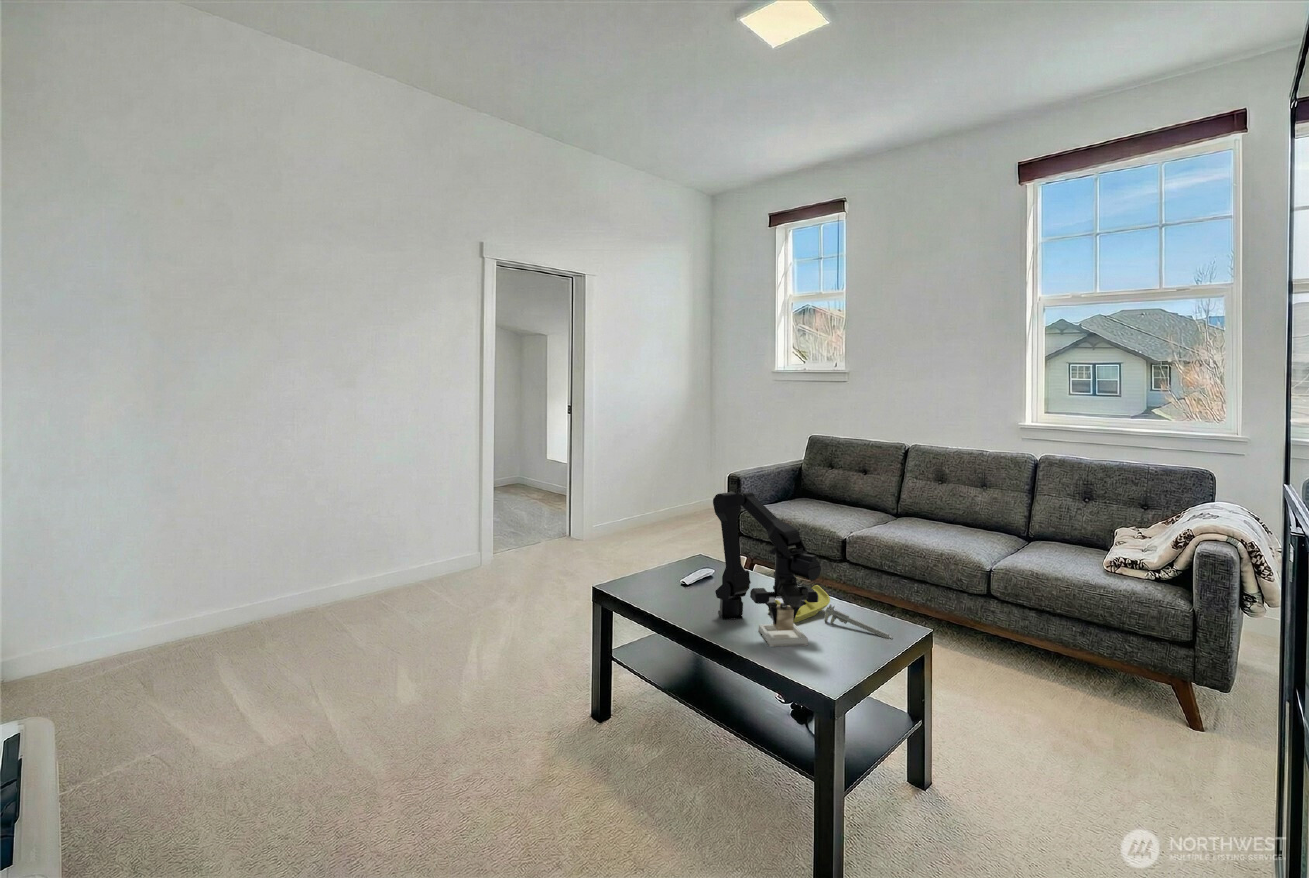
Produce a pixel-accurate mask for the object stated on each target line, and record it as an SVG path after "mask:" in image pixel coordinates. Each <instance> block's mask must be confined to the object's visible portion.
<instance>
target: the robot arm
mask: <svg viewBox="0 0 1309 878" xmlns="http://www.w3.org/2000/svg"><path fill="white" fill-rule="evenodd" d="M712 505H713V510H714V513H715V515H716V516H717V518H718V520H719V521H720V524H721V525H720V526H721V534H722V535H721V536H722V542H723V543H722V544H723V552H724V561H725V568H724V571H723V572H722V573H723V574H722V578H721V580H722V581H721V582H722V584H721V585H720V586H719V587H718V588H716V589H715V596H716V598H717V599H719V610H717V612H718V614H719V617H721V619H722V620H743V614H744V602H743V601H742V597H745V596H746V595H747V592H748V591H749V589H750V584H751V583H752V582H751V579H750V571H749V570H746V569H745V568H744V566H743V565H742V559H741V549H740V540H739V532H738V522H737V520H738V516H739V514H740V512H741V507H742V508H743V509H745V511H747V513H748V514H749V515H750V516H751V517H752V518H753V519H754V520H755V521H756V522H757V523H758V524H759V525H760V526H761V527H763V529H764V530H765V531H766V533H767V536H768V540H769V541H770V542H771V543H772V545H773V546H774V547H773V548H772V549H771V550H770V551H769V554H771V555H774V556H775V561H774V562H775V564H774V571H773V576H774V585H772V586H773V587H772V590H773V591H767V590H766V589H765V588H764V587H753V588H752V589H751V590H750V592H749V593H750V594H749V596H750V599H751V600H752V601H753V602H754V604H759V605H760V604H761V605H763V604H764V605H765V606H767V609H769V611H770V612H769V611H768V612H769V613H770V616H771V619H772V624H773V623H774V624H776V620H777V618H776V607H777V604H776V603H775V600H777V599H781V600H782V603H784V604H785V605H790V606H791V608H792V609H793V610H794V618H795V616H796V614H797V612H798V610H799V608H800V607H801V606H803V605H806V602H805V601H804V600H806V601H807V602H808V603H809V602H818V593H817V592H816V591H814V590H813V589H812V587H811V586H806V585H804V586H803V585H802V586H799V585H798V581H797V577H799V578H803V579H806V580H809V581H816V580H817V579H819V577H820V574H821V571H822V567H821V563H820V562H819V560H818V557H817V555H815V554H809V553H808V550H807V549H806V546H805V544H804V542H803V540H802V539H801V533H800V532H799V531H798V529H797V528H796V527H794V526H792V525H790V524H789V523H788V522H784V521H782V520H780V519H778V517H776V515H774V513H772V512H771V510H769V509H768V508H767V506H765V504H763V503H762V502H761V501H760V500H759V499H758V498H757V497H756V495H755V493H753V492H751V491H744V492H743V491H742V492H739V493H736V492H734V491H729V492H728V491H727V492H722V493H720V492H719V493H717V494H715V496H714V497H713V499H712ZM794 618H793V621H794Z"/></svg>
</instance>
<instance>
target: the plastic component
mask: <svg viewBox="0 0 1309 878" xmlns="http://www.w3.org/2000/svg"><path fill="white" fill-rule="evenodd" d="M811 588H812V589H813V590H814V591H816V592H817V593H818V602H809V603H808V602H807V601H806V600H804V601H805V602H806V605H803V606H801V607H800V608H799V610H798V612H797V614H796V616H795V618H794V621H793V624H795V623H799V621H800V622H802V621H804V620H807V619H809V618H811V617H814V616H816V615H818V613H819V612H821V611H822V610H824V609H825V608H827V607H828V605H830V603H831V598H830V595H829V594H828V593H827V592H826V591H825V590H824V588H822V587H821V586H820V585H818V584H816V585H813V586H812V587H811ZM775 603H776V604H777V605H780V603H781V601H780V600H778V599H775ZM767 609H768V612H769V613H770V611H769V608H767Z"/></svg>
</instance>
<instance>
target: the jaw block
mask: <svg viewBox="0 0 1309 878" xmlns="http://www.w3.org/2000/svg"><path fill="white" fill-rule="evenodd" d="M776 618H777V620H776V624H774V623H773V622H772V624H773V625H774V626H775V628H776V629H777V630H778V631H782V630H793V624H794V623H793V618H794V610H793V609H792V608H791V606H790V605H785V604H784V603H783V602H780V605H777V607H776Z"/></svg>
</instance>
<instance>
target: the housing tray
mask: <svg viewBox="0 0 1309 878" xmlns="http://www.w3.org/2000/svg"><path fill="white" fill-rule="evenodd" d="M758 632H759V634H760V635H761V634H762V635H761V637H762V638H763V639H764V641H767V642H766V643H767V644H768V645H769V647H772V648H773V647H774V648H775V647H779V648H780V647H796V646H797V647H798V646H799V647H800V646H801V647H802V646H806V647H807V646H808V645H809V638H808V637H807V636H806V634H804V633H803V631H801V629H800V628H799V627H798V626H797V625H796V624H795V623H793V630H782V631H778V630H777V629H776V628H775V626H774V625H773V623H771V624H770V623H769V624H765V623H764V624H763V623H762V624H758Z"/></svg>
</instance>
